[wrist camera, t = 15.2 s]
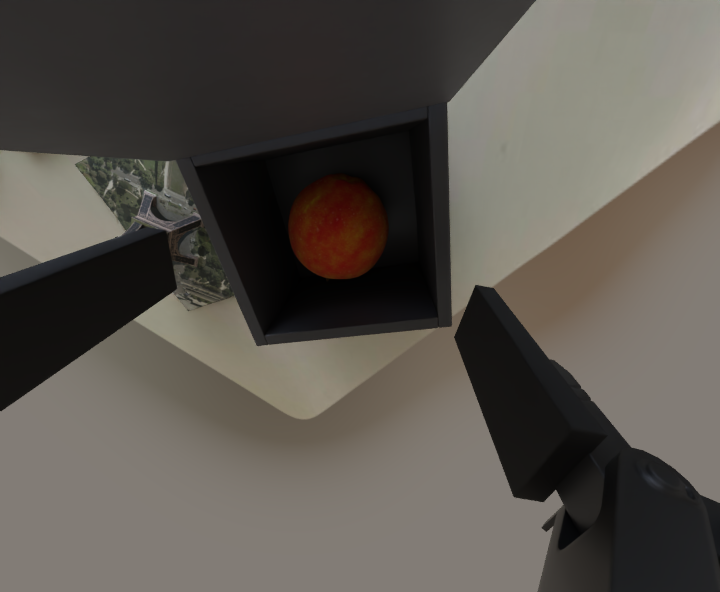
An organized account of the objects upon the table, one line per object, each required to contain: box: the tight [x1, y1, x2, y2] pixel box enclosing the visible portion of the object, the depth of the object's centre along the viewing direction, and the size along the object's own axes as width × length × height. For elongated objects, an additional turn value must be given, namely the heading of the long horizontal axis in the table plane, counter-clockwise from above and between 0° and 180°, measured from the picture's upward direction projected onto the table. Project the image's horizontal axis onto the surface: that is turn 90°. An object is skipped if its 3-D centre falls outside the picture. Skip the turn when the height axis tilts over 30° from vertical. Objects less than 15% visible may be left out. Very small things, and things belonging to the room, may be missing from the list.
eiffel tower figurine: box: [75, 156, 234, 311], centre depth 19 cm, size 15×10×13 cm
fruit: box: [288, 173, 389, 282], centre depth 20 cm, size 7×7×8 cm
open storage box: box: [176, 102, 452, 346], centre depth 19 cm, size 12×13×10 cm
